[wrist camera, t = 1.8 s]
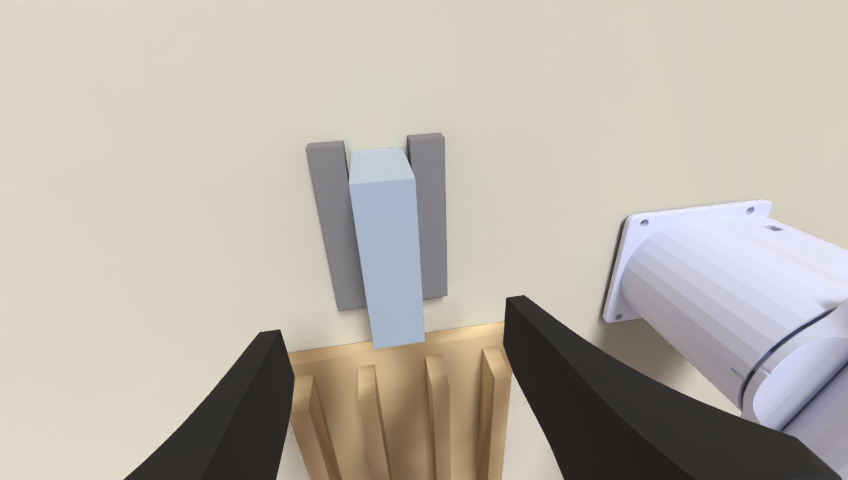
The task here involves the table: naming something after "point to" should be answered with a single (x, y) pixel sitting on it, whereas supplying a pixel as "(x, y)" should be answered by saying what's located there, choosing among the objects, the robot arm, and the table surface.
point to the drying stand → (340, 225)
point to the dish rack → (405, 408)
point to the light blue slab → (388, 244)
